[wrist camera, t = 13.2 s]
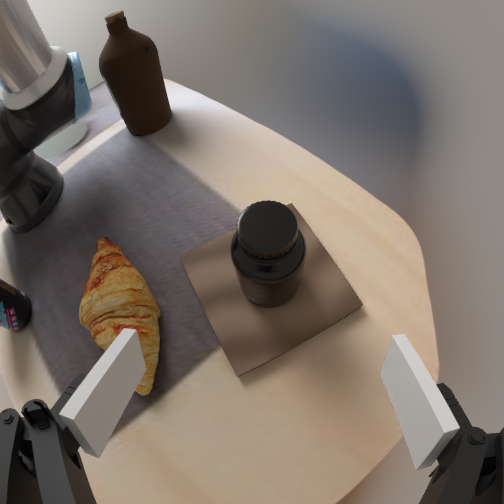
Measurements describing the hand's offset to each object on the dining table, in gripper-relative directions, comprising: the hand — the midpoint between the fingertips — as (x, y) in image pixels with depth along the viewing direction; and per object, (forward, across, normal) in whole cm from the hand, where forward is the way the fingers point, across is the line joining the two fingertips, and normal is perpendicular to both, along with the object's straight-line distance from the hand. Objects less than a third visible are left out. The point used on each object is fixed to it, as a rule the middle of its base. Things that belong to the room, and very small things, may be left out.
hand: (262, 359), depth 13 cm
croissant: (+17, -18, -8) cm, 26 cm away
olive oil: (+44, -24, +19) cm, 53 cm away
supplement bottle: (+19, 0, -4) cm, 19 cm away
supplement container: (+15, -38, -10) cm, 43 cm away
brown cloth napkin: (+20, 0, -5) cm, 20 cm away
